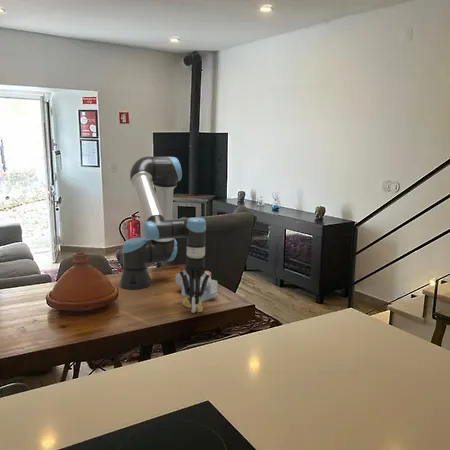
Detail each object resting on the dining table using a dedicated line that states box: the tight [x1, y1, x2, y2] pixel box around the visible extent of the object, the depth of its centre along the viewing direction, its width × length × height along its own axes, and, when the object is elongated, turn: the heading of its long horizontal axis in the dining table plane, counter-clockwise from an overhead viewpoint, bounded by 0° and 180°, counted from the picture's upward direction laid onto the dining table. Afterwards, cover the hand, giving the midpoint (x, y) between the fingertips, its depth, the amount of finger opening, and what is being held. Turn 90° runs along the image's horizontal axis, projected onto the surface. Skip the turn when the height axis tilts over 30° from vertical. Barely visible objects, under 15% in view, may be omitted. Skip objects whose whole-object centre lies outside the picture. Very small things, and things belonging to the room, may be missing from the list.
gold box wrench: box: [182, 295, 203, 313], centre depth 188 cm, size 13×8×3 cm, turn 24°
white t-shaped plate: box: [175, 272, 218, 294], centre depth 202 cm, size 21×7×5 cm, turn 48°
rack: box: [181, 281, 217, 303], centre depth 202 cm, size 15×10×8 cm, turn 48°
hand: (194, 311), depth 182 cm, fingers closed
